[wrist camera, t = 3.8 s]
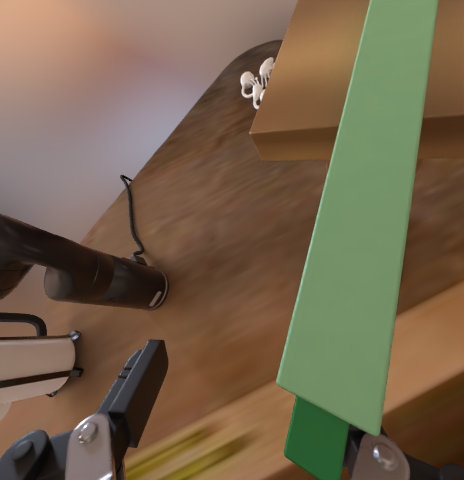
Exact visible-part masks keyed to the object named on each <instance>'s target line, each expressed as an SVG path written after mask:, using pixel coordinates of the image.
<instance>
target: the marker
mask: <svg viewBox="0 0 464 480" xmlns="http://www.w3.org/2000/svg"><path fill="white" fill-rule="evenodd" d="M438 1H439V0H370V3H369V7H368V11H367V15H366V19H365V24H364V28H363V32H362V36H361V40H360V44H359V48H358V52H357V56H356V60H355V64H354V68H353V72H352V76H351V80H350V84H349V88H348V92H347V96H346V101H345V105H344V109H343V113H342V117H341V121H340V125H339V129H338V133H337V137H336V141H335V145H334V149H333V153H332V157H331V161H330V165H329V169H328V173H327V177H326V182H325V186H324V190H323V194H322V198H321V202H320V206H319V210H318V214H317V218H316V222H315V226H314V230H313V234H312V238H311V242H310V246H309V250H308V254H307V259H306V263H305V267H304V271H303V275H302V279H301V283H300V287H299V291H298V295H297V299H296V303H295V307H294V311H293V315H292V319H291V323H290V327H289V331H288V335H287V340H286V344H285V348H284V352H283V356H282V360H281V364H280V368H279V372H278V376H277V384H278V386H279V387H281V388H283V389H285V390H287V391H289V392H291V393H293V394H295V395H296V399H295V404H294V408H293V413H292V417H291V422H290V426H289V431H288V435H287V440H286V444H285V449H284V455H285V457H286V458H288V459H289V460H291V461H292V462H294V463H295V464H297V465H298V466H300V467H301V468H303V469H304V470H306V471H307V472H308V473H310V474H311V475H313V476H314V477H316V478H317V479H319V480H340V478H341V472H342V466H343V460H344V454H345V448H346V442H347V436H348V430H349V424H352V425H354V426H356V427H357V428H359V429H361V430H363V431H365V432H367V433H369V434H371V435H373V436H378V435H379V434H380V429H381V421H382V414H383V407H384V399H385V392H386V384H387V377H388V370H389V362H390V355H391V348H392V340H393V333H394V326H395V318H396V311H397V303H398V296H399V289H400V281H401V274H402V267H403V259H404V252H405V244H406V237H407V230H408V222H409V215H410V208H411V200H412V193H413V186H414V178H415V171H416V163H417V156H418V149H419V141H420V134H421V127H422V119H423V112H424V104H425V97H426V90H427V82H428V75H429V68H430V60H431V53H432V46H433V38H434V31H435V23H436V16H437V9H438Z"/></svg>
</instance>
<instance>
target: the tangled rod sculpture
mask: <svg viewBox="0 0 464 480" xmlns="http://www.w3.org/2000/svg"><path fill="white" fill-rule="evenodd" d="M272 64H273V58H272V57H271V58H269V59H267V60H265V61H264V63H263V64H262V66H261V67H260V75H261V81H262V85H260V84H259V82H258V80H257V79H258V78H257V77H256V78H255V80H256V81H257V83H258V84H256V83H255V81H254V76H253V74H252V73H250V72H245V73H244V74H243V75H242V77H241V84H242V86H243V87H242V94H243V96H244V97H246V98H251V97H252V96H253V99H254V102H253V104H254V107H255V108H256V109H258V108H259V106H257V104H256V101H257V100H258V99H259V98H260V101H261V100H262V97H263V94H264V92H265V90H263V89H262V88H263V87H264V85H263V78H265V82H266V84H265V87H266V86H267V80H266V78H268V77H269V78H270V74H271V70H273V67H274V64H275V63H274V64H273V65H272ZM253 83H255V85H253ZM252 86H253V93H252V94H250V95H246V94H245V92H244V89H245V88H247V89H248V88H250V87H252Z"/></svg>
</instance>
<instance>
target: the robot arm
mask: <svg viewBox="0 0 464 480" xmlns="http://www.w3.org/2000/svg"><path fill="white" fill-rule="evenodd" d="M120 178H121V179H122V181H123V182H124V184H125V186H126V189H127V194H128V200H129V217H130V228H131V233H132V236H133V238H134V240H135V241H136V243H137V244H138V246H139V248H140V251H136V252H134V253H133V254H132V256H131V258H130V259H127V258H119V257H116V256H113V255H109V254H106V253H103V252H100V251H97V250H94V249H91V248H88V247H85V246H83V245H80V244H78V243H76V242H73V241H71V240H69V239H67V238H64V237H61V236H58V235H55V234H52V233H50V232H47V231H45V230H42V229H39V228H37V227H34V226H32V225H29V224H26V223H24V222H22V221H19V220H17V219H13V218H11V217H8V216H6V215H2V214H0V300H1V299H3V298H4V297H6V296H7V295H8V294H10V293H11V292H12V291H13V290H14V289H15V288H16V287H17V286H18V285H19V283H20V282H21V281H22V279H23V278H24V277H25V276H26V274H27V273H28V272H29V270H30V269H31V268H32V267H33V265H34V264H38V265H41V266H45V267H47V268H46V272H45V277H44V288H45V292H46V295H47V296H48V297H49V298H50V299H52V300H56V301H62V302H73V303H83V304H94V305H104V306H114V307H124V308H134V309H143V310H154V309H156V308H158V307H159V306H160V305H161V304H162V303H163V301H164V300H165V298H166V296H167V293H168V287H169V283H168V278H167V276H166V274H165V273H164V272H162V271H160V270H157V269H155V268H154V267H151V266H148V265H147V264H146V262H145V260H144V258H142V257H139V256H136V255H139V254H142V253H143V251H144V248H143V246H142V244H141V242H140V241H139V240H138V238H137V237H136V234H135V231H134V224H133V213H132V198H131V193H130V189H129V186H128V183H127V182H126V180H125V179H127V180H129V181H130V182H131V181H132V179H130V178H128V177H126V176H124V175H121V176H120ZM124 178H125V179H124ZM167 369H168V357H167V352H166V347H165V342H164V340H148V342H147V343H146V345H145V347H144V348H143V350H137V351H136V352H135V353H134V354H133V355H132V356H131V357H130V358H129V359H128V361H127V363H126V364H125V366H124V367H123V370H122V371H121V372H120V374H119V376H118V378H117V379H116V380H115V382H114V384H113V385H112V387H111V389H110V390H109V392H108V393H107V395H106V397H105V398H104V400H103V402H102V403H101V405H100V406H99V408H98V410H97V411H96V413H95V414H94V415H91V416H89V417H88V418H86V419H85V420H83V421H82V422H81V423H80V424H79V425H78V426H77V427H76V428H75V429H74V430H71V431H68V432H65V433H61V434H58V435H55V436H51V437H48V435H47V433H46V432H45V431H43V430H36V431H32V432H30V433H28V434H26V435H24V436H23V437H21V438H20V439H18V440H17V441H16V442H15V443H14V444H13V445H12V446H11V447H10V448H9V449H8V450H7V451H6V452H5V453H4V455H3V456H2V457H1V458H0V480H126V473H125V465H124V455H125V453H126V451H127V448H128V447H132V448H137V446H138V443H139V441H140V438H141V436H142V433H143V431H144V428H145V426H146V423H147V421H148V418H149V416H150V413H151V411H152V408H153V406H154V403H155V401H156V398H157V396H158V393H159V391H160V388H161V386H162V383H163V381H164V378H165V376H166V373H167ZM343 466H347V468H348V472H349V475H350V478H351V480H464V467H462V466H460V465H457V464H452V463H448V464H445V465H443V467H442V468H441V469H439V468H436V467H434V466H431V465H429V464H427V463H424V462H422V461H420V460H417V459H415V458H413V457H411V456H409V455H407V454H406V453H404V452H403V451H402V450H401V449H400V448H399V447H398V446H397V445H396V444H395V443H394V442H393V441H392V440H391V439H389V437H388V436H387V434H386V433H385V431H384V429H383V427H382V425H381V429H380V434H379V435H378V436H373V435H371V434H369V433H367V432H365V431H363V430H361V429H359V428H357V427H356V426H354V425H352V424H349V430H348V436H347V442H346V448H345V454H344V460H343Z"/></svg>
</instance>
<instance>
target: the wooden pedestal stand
mask: <svg viewBox="0 0 464 480" xmlns="http://www.w3.org/2000/svg"><path fill="white" fill-rule="evenodd" d="M369 3H370V0H298V1H297V4H296V7H295V9H294V12H293V15H292V18H291V21H290V23H289V26H288V29H287V31H286V34H285V37H284V40H283V42H282V45H281V48H280V51H279V53H278V56H277V59H276V62H275V64H274V67H273V70H272V72H271V75H270V78H269V81H268V83H267V86H266V89H265V92H264V94H263V97H262V100H261V103H260V105H259V108H258V111H257V114H256V116H255V119H254V122H253V125H252V127H251V130H250V136H251V138H252V140H253V142H254V145H255V147H256V149H257V151H258V154H259V156H260V158H261V160H262V161H294V160H326V169H327V173H328V169H329V165H330V161H331V157H332V153H333V149H334V145H335V141H336V137H337V133H338V129H339V125H340V121H341V117H342V113H343V109H344V105H345V101H346V96H347V92H348V88H349V84H350V80H351V76H352V72H353V68H354V64H355V60H356V56H357V52H358V48H359V44H360V40H361V36H362V32H363V28H364V24H365V19H366V15H367V11H368V7H369ZM424 158H464V0H439V1H438V9H437V16H436V23H435V31H434V38H433V46H432V53H431V60H430V68H429V75H428V82H427V90H426V97H425V104H424V112H423V119H422V127H421V134H420V141H419V149H418V156H417V163H416V171H415V174H416V172H417V170H418V168H419V166H420V164H421V162H422V161H423V159H424Z"/></svg>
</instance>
